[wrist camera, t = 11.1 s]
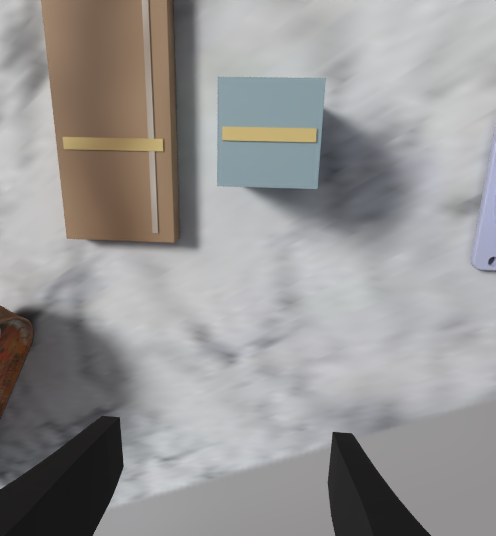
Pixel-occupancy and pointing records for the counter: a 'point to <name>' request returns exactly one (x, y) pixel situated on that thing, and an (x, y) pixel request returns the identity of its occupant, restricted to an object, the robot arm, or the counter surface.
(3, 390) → the tin
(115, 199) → the walnut board
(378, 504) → the robot arm
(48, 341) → the counter surface
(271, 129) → the block
